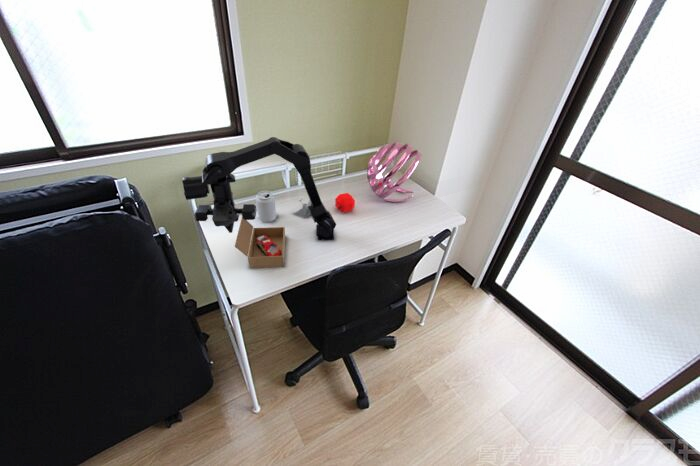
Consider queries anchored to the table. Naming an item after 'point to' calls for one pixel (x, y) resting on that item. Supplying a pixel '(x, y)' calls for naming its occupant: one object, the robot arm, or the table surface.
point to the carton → (257, 256)
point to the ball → (345, 202)
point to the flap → (244, 237)
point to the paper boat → (304, 210)
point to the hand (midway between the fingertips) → (231, 232)
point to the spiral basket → (386, 180)
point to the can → (266, 206)
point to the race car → (268, 246)
